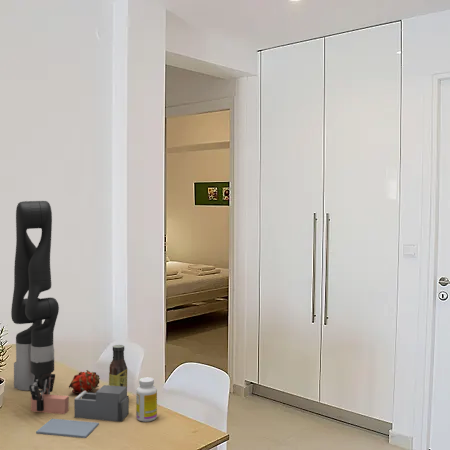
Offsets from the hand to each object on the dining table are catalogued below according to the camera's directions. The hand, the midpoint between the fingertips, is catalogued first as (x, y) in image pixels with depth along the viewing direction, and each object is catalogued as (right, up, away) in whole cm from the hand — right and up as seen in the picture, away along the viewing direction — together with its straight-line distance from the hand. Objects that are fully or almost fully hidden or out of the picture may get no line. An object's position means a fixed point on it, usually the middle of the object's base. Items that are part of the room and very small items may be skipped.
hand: (42, 408), depth 190 cm
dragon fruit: (+10, 0, +17) cm, 20 cm away
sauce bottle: (+24, -1, +8) cm, 25 cm away
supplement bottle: (+35, -2, -5) cm, 36 cm away
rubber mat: (+12, -2, -14) cm, 19 cm away
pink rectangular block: (+2, -1, 0) cm, 3 cm away
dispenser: (+21, -1, -4) cm, 21 cm away
